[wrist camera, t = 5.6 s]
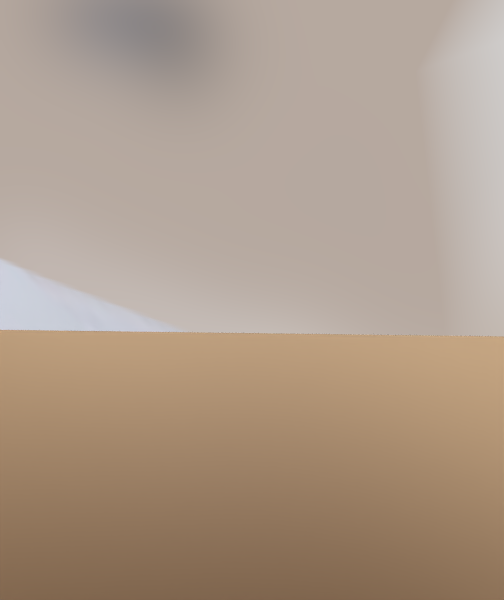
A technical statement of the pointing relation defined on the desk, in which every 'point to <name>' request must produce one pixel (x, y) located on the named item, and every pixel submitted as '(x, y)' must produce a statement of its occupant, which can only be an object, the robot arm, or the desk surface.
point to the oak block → (250, 466)
